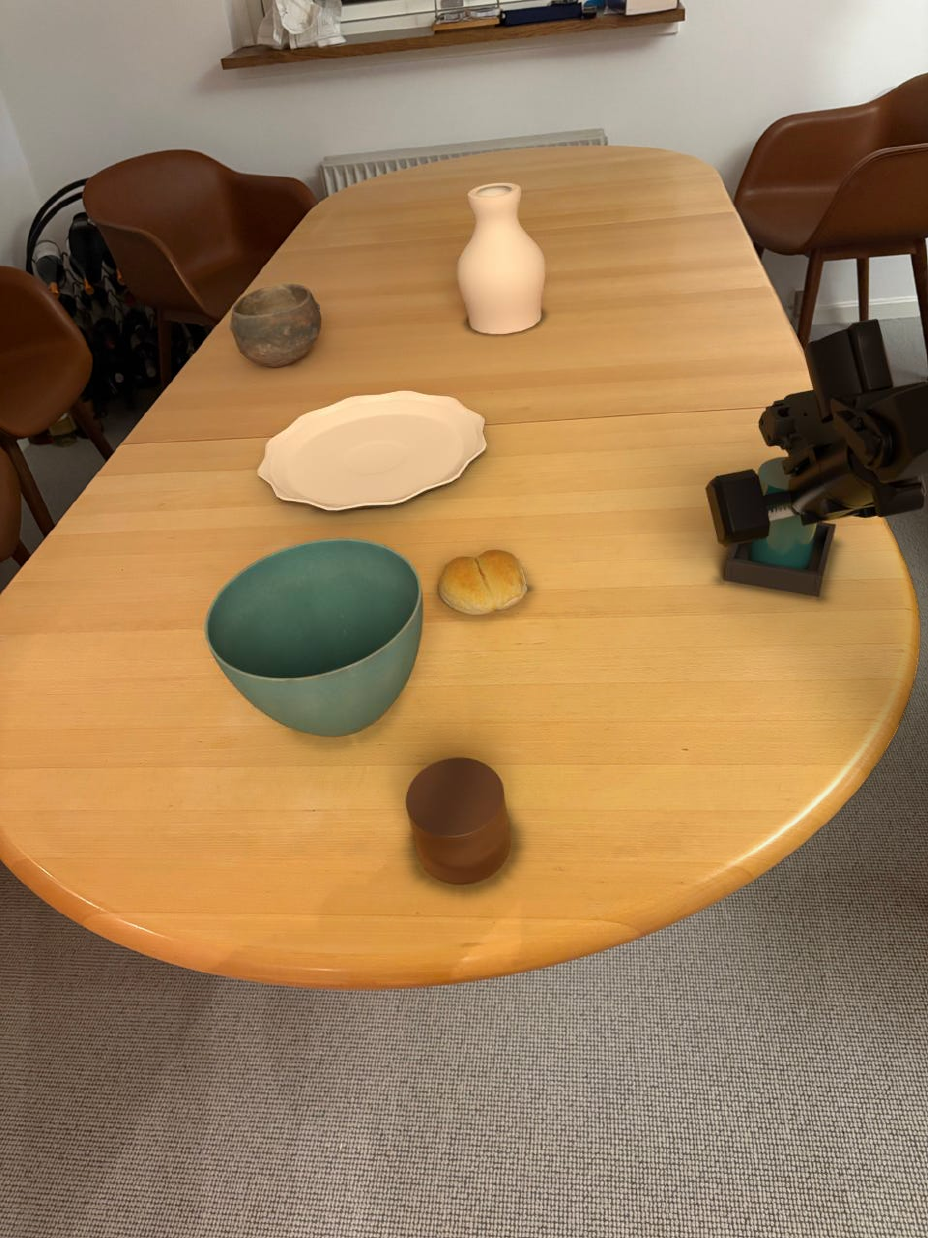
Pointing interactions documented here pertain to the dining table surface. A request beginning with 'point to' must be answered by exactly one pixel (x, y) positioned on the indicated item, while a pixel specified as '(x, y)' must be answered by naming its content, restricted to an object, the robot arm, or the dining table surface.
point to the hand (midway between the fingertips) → (778, 512)
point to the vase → (500, 264)
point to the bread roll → (483, 583)
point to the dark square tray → (781, 576)
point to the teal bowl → (320, 633)
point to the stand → (459, 820)
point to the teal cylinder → (782, 526)
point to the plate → (373, 451)
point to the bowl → (276, 324)
